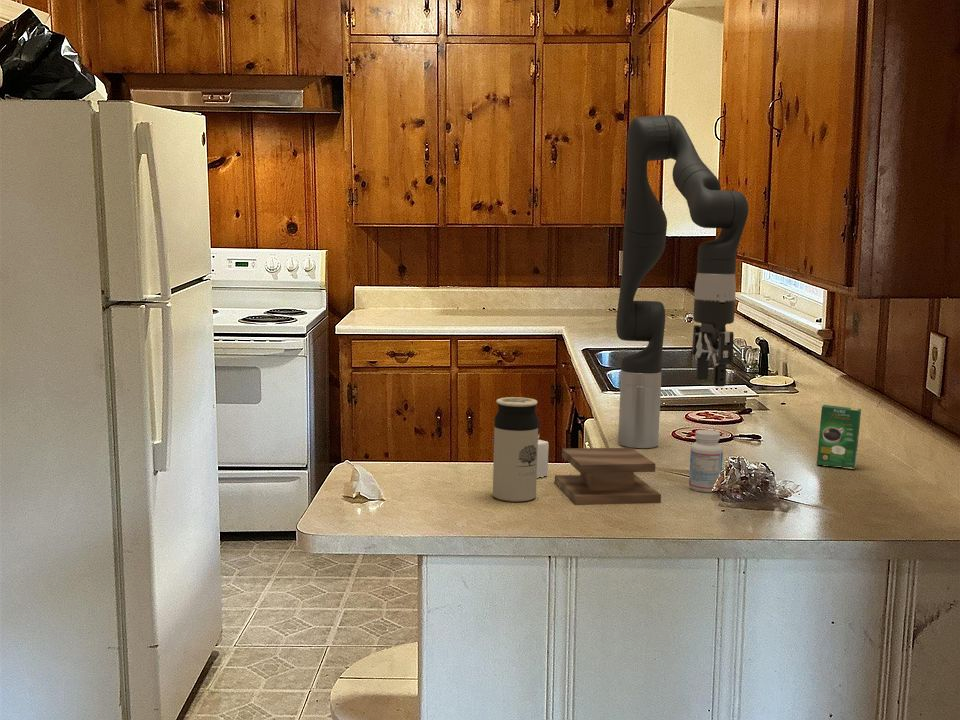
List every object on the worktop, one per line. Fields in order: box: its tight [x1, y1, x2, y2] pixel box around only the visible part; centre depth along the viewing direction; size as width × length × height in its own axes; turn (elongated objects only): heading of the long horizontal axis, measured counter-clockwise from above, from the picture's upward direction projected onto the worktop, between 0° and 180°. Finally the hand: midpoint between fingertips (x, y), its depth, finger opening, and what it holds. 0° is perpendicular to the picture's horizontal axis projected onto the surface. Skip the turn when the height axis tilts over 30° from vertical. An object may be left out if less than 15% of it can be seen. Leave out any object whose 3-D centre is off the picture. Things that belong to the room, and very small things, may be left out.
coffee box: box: [816, 404, 862, 469], centre depth 221 cm, size 8×3×13 cm, turn 63°
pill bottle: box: [688, 429, 724, 493], centre depth 199 cm, size 6×6×11 cm
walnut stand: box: [554, 447, 662, 505], centre depth 195 cm, size 16×16×7 cm
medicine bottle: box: [537, 418, 549, 479], centre depth 206 cm, size 7×7×12 cm
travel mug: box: [492, 396, 539, 503], centre depth 189 cm, size 8×8×18 cm
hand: (710, 382), depth 197 cm, fingers open, 8 cm apart
